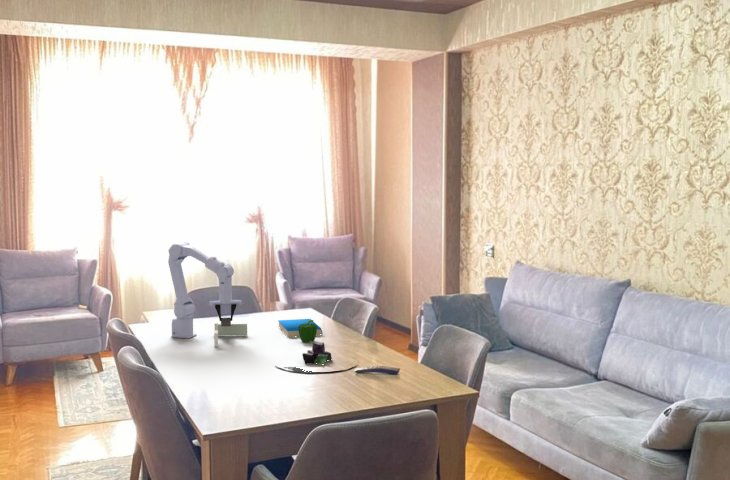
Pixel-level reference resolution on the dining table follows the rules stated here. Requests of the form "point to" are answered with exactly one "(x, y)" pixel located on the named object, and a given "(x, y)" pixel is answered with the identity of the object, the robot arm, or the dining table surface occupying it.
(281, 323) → the book
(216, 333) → the rectangular block
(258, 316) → the dining table surface
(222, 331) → the door
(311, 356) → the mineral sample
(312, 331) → the bell pepper
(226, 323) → the grey stepped block
